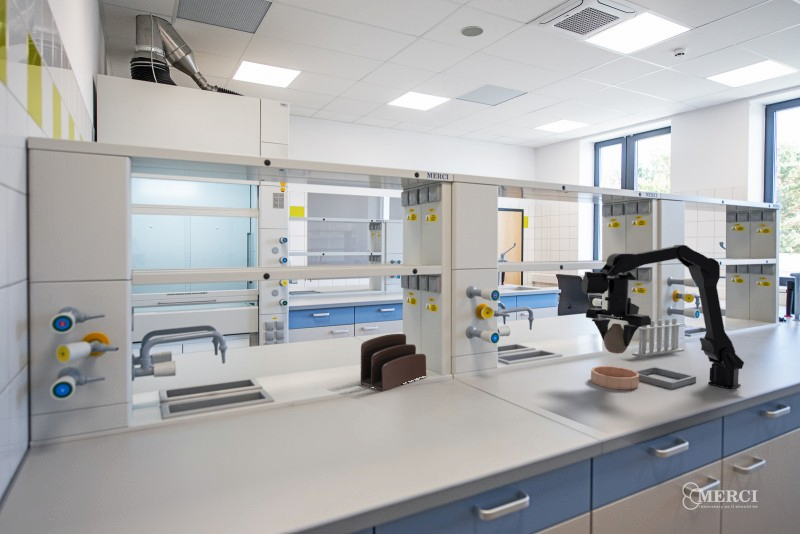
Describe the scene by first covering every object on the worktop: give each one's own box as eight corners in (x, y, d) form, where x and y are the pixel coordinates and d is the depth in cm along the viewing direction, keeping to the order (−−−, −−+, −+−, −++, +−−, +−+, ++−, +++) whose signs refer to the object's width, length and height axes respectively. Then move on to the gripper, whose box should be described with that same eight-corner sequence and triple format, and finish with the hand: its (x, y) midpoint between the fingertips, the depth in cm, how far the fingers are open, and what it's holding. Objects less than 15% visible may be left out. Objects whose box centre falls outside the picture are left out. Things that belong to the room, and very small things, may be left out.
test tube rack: (642, 357, 183) (643, 322, 182) (632, 354, 187) (633, 321, 186) (684, 351, 193) (685, 318, 193) (673, 348, 197) (675, 317, 197)
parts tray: (695, 382, 150) (696, 376, 150) (672, 388, 143) (672, 383, 143) (653, 371, 162) (653, 366, 161) (629, 377, 154) (629, 372, 154)
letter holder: (359, 385, 145) (359, 339, 145) (404, 372, 160) (404, 330, 159) (382, 392, 139) (383, 344, 138) (426, 378, 153) (427, 334, 152)
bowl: (647, 384, 147) (648, 374, 147) (621, 392, 140) (621, 380, 139) (608, 374, 158) (608, 364, 158) (582, 380, 151) (582, 369, 151)
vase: (598, 350, 150) (599, 322, 150) (615, 348, 153) (616, 321, 152) (615, 355, 144) (616, 326, 143) (633, 353, 146) (634, 325, 146)
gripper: (662, 296, 144) (660, 347, 145) (606, 290, 160) (605, 336, 160) (640, 298, 138) (638, 351, 139) (585, 291, 154) (583, 339, 155)
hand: (615, 344), depth 148 cm, fingers closed on vase, 7 cm apart
